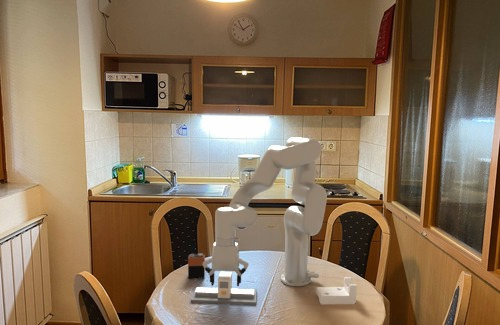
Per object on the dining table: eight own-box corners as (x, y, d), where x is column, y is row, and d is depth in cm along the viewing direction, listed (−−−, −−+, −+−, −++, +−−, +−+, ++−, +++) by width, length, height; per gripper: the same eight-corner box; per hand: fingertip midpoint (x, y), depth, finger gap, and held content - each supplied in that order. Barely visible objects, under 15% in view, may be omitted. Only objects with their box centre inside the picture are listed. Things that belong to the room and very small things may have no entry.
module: (231, 289, 145) (232, 271, 144) (229, 299, 137) (229, 280, 136) (220, 289, 145) (220, 271, 144) (217, 298, 138) (217, 280, 137)
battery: (204, 278, 157) (204, 255, 156) (188, 279, 157) (188, 256, 155) (204, 274, 162) (204, 252, 160) (188, 274, 161) (188, 252, 160)
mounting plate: (256, 292, 146) (256, 289, 146) (255, 304, 136) (255, 302, 136) (195, 289, 147) (195, 287, 147) (190, 302, 137) (190, 299, 137)
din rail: (253, 293, 143) (253, 289, 143) (253, 297, 139) (253, 294, 139) (196, 291, 144) (196, 287, 144) (195, 295, 140) (195, 291, 140)
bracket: (349, 295, 145) (350, 277, 144) (355, 304, 138) (356, 285, 137) (316, 295, 145) (317, 277, 144) (320, 305, 138) (321, 285, 137)
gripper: (249, 237, 142) (248, 280, 145) (204, 236, 143) (204, 279, 145) (248, 244, 135) (247, 289, 137) (200, 243, 136) (201, 288, 138)
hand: (225, 284), depth 141 cm, fingers open, 9 cm apart
